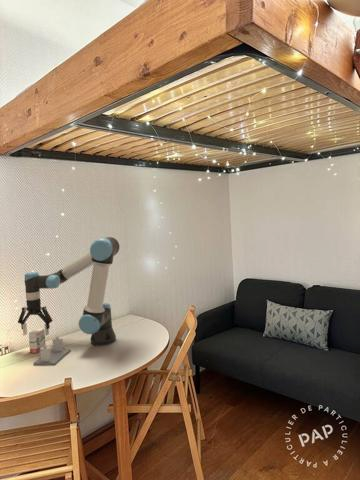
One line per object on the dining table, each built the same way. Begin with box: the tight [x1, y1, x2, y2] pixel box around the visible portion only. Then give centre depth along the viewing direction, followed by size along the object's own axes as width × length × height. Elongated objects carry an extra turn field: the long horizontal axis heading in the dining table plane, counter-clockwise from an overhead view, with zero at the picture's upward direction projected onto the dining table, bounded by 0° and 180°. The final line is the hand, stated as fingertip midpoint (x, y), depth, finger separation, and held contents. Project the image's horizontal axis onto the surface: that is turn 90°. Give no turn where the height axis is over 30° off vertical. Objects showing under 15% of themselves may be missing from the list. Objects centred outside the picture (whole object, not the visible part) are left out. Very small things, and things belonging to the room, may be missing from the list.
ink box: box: [28, 328, 47, 354], centre depth 193 cm, size 9×5×12 cm, turn 168°
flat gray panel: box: [32, 336, 72, 366], centre depth 180 cm, size 12×18×9 cm, turn 173°
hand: (36, 334), depth 193 cm, fingers open, 13 cm apart
